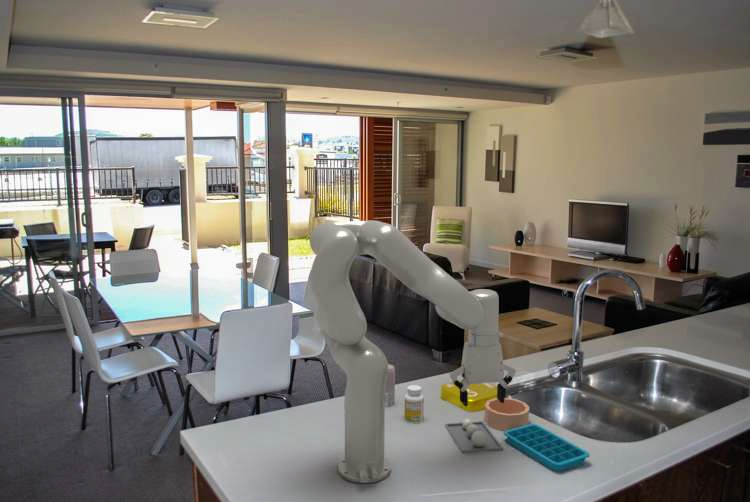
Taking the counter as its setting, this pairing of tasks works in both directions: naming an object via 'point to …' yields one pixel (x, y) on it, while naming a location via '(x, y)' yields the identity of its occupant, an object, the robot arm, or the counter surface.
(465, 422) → the pebble
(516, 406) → the bowl
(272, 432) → the counter surface
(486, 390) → the element tile
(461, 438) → the parts tray
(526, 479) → the counter surface
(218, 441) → the counter surface
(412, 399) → the supplement bottle
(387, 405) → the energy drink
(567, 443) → the ice cube tray
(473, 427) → the pebble
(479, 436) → the pebble
